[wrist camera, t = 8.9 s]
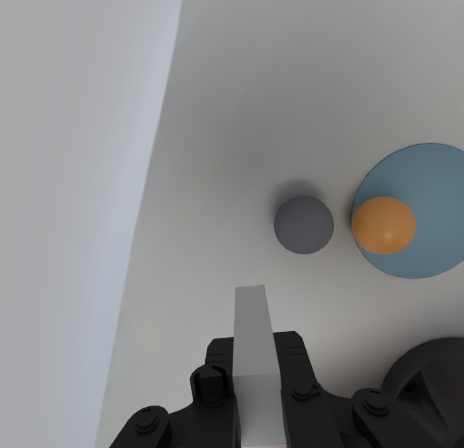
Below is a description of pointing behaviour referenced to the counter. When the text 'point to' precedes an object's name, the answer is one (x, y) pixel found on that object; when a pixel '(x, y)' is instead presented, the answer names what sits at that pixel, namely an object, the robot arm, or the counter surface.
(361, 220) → the object ball
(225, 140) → the counter surface
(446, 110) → the counter surface
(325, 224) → the dark grey ball
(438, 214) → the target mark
